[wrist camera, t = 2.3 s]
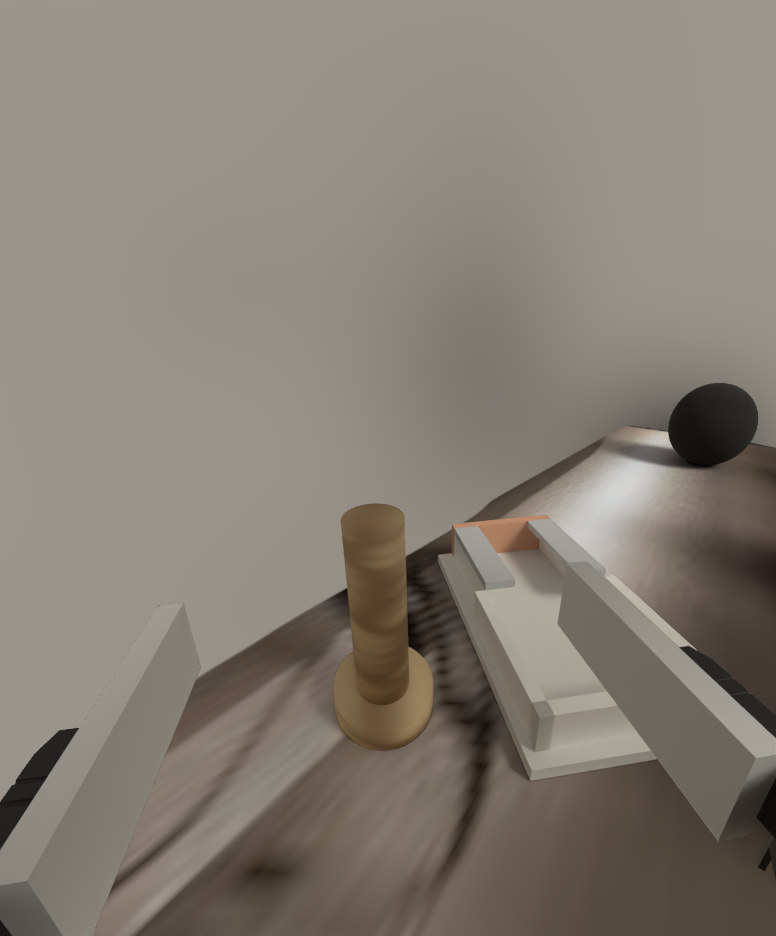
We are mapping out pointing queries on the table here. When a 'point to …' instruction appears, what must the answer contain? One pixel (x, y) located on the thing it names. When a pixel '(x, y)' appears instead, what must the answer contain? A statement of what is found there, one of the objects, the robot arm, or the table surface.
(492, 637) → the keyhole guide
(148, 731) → the robot arm
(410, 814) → the table surface
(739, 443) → the decorative egg
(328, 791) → the table surface
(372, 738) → the headed peg
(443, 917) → the table surface
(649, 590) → the table surface
